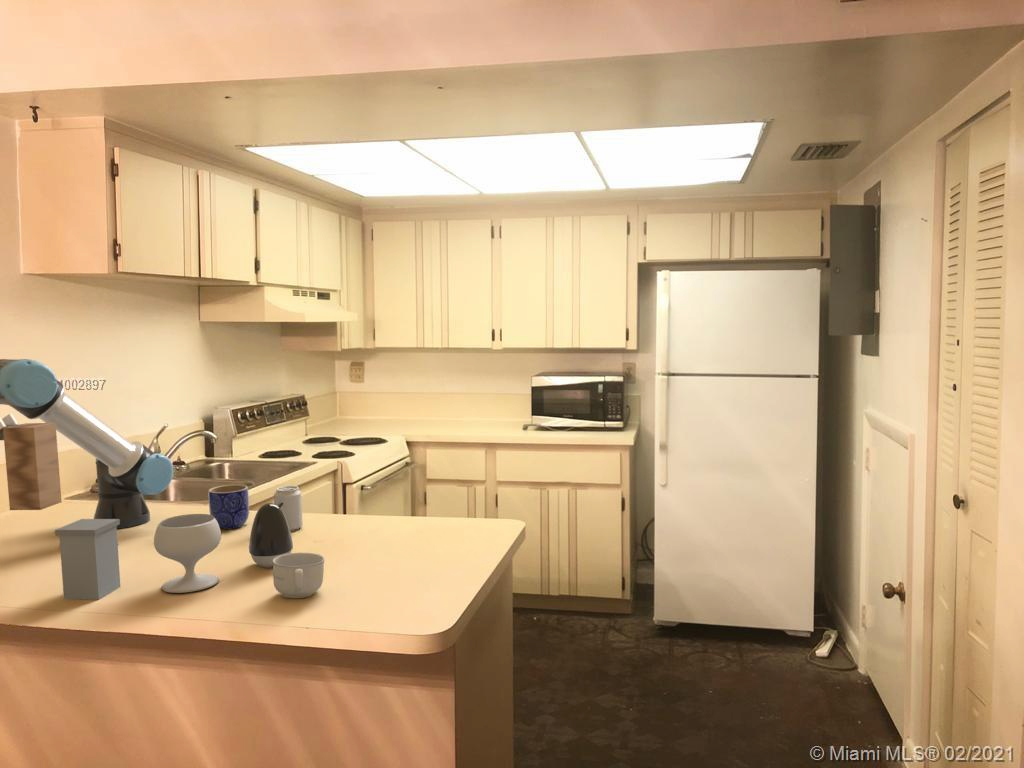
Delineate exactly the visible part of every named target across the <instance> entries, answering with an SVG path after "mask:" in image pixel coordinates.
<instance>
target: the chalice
mask: <svg viewBox="0 0 1024 768" xmlns="http://www.w3.org/2000/svg"><path fill="white" fill-rule="evenodd" d="M221 540H222V533H221V529H220V528H219V525H218V522H217V521H216V519H215V518H214V517H213V516H212V515H210V514H209V513H208V514H207V513H190V514H189V513H188V514H181V515H175V516H171V517H168V518H165V519H163V520H161V521H159V522H158V525H157V526H156V529H155V533H154V537H153V545H154V549H155V551H156V552H157V553H158V554H159V555H160V556H162V557H164V558H166V559H169V560H172V561H175V562H177V563H179V564H180V565H182V566H183V568H184V570H185V572H184V575H182V576H178V577H174V578H172V579H169V580H167V581H166V582H164V583H163V584H162V585H161V587H160V589H161V590H163V592H166V593H172V594H183V593H193V592H198V591H201V590H206V589H208V588H211V587H214V586H215V585H216V584H217V583H219V582H220V578H219V577H218V576H217V575H215V574H209V573H196V571H195V566H196V565H197V563H198V562H199V561H200V560H201V559H203V557H206V556H207V555H208V554H210V553H212V552H213V551H214V550H215V549H216V548H218V546H219V544H220V543H221Z"/></svg>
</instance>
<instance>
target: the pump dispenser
mask: <svg viewBox="0 0 1024 768" xmlns="http://www.w3.org/2000/svg"><path fill="white" fill-rule="evenodd" d="M283 504H284V503H283V502H280V503H278V504H277V505H276V504H274V502H268V503H264V504H262V505H261V506H260V507H259V508H258V509H257V512H256V514H255V517H254V519H253V521H252V522H253V523H252V526H251V529H250V535H249V543H248V551H249V554H250V556H251V559H252V560H253V562H254V563H255V565H258V566H260V567H263V568H273V559H274V558H276V557H278V556H281V555H285V554H290V553H292V550H293V549H294V544H293V537H292V534H291V532H292V531H290V529H289V525H288V523H287V520H286V517H285V515H284V513H283V512H282V510H281V507H282V506H283Z"/></svg>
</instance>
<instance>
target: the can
mask: <svg viewBox="0 0 1024 768" xmlns="http://www.w3.org/2000/svg"><path fill="white" fill-rule="evenodd" d="M273 497H274V499H273V501H274V502H273V503H274V504H276V505H277V504H278V503H280V502H283V503H284V504H283V506H282V507H281V510H282V512H283V513H284V515H285V517H286V520H287V523H288V525H289V529H290V532H294V531H293V530H296V531H297V529H298V530H300V529H301V527H303V508H302V507H303V506H302V505H303V504H302V492H301V490H300V489H299V486H297V485H285V486H280V487H276V490H275V492H274V494H273ZM299 528H300V529H299Z"/></svg>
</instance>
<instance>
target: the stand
mask: <svg viewBox="0 0 1024 768" xmlns="http://www.w3.org/2000/svg"><path fill="white" fill-rule="evenodd" d="M119 524H120V519H94V518H80V519H78V520H76V521H73V522H70V523H68V524H65V525H64V526H61V527H59V528H56V529H54V534H55V536H58V537H59V550H60V552H59V553H60V564H61V578H62V592H63V599H64V600H100V599H102V598H104V597H106V596H107V595H109V594H111V593H112V592H114V591H116V590H117V589H119V588H121V573H120V571H121V570H120V562H119V561H120V559H119V543H118V528H117V525H119Z"/></svg>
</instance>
